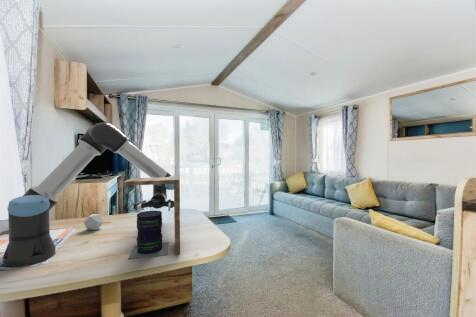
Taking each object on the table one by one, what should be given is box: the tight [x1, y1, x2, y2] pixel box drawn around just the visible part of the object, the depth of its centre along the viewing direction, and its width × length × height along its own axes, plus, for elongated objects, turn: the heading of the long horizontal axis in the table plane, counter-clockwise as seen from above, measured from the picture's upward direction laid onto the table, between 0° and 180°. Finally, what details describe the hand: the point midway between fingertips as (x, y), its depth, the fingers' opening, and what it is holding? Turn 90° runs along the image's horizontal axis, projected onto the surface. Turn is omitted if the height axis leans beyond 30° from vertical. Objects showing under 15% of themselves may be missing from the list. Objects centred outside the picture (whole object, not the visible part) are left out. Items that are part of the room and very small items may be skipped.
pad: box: [127, 241, 169, 260], centre depth 94 cm, size 14×13×1 cm
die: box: [83, 213, 104, 231], centre depth 123 cm, size 8×9×10 cm
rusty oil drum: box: [136, 210, 163, 254], centre depth 94 cm, size 10×10×15 cm
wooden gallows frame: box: [123, 176, 181, 256], centre depth 94 cm, size 20×14×30 cm
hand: (153, 208), depth 105 cm, fingers open, 13 cm apart
